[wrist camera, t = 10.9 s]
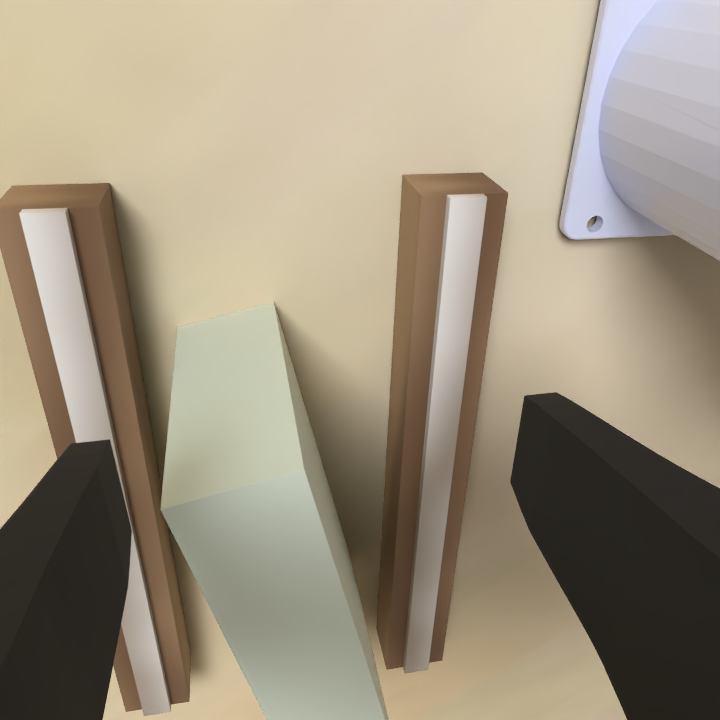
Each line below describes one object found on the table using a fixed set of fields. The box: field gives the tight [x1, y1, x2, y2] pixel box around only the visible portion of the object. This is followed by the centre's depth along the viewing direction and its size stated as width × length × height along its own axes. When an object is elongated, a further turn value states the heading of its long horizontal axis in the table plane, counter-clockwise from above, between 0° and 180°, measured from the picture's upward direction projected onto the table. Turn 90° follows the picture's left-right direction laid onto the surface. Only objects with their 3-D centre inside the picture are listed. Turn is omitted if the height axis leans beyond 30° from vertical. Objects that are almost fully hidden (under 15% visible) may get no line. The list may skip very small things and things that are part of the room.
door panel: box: [160, 302, 388, 720], centre depth 20 cm, size 3×12×8 cm, turn 10°
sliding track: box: [0, 173, 508, 716], centre depth 22 cm, size 13×20×2 cm, turn 178°
